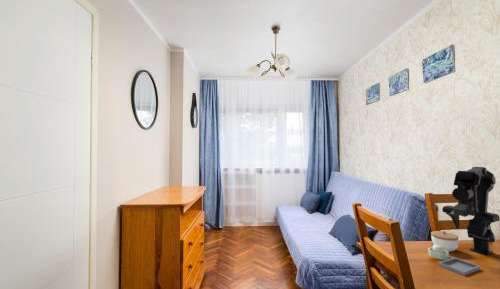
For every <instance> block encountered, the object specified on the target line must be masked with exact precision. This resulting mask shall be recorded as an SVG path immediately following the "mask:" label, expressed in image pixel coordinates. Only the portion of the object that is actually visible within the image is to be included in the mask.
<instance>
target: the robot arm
mask: <svg viewBox="0 0 500 289" xmlns="http://www.w3.org/2000/svg"><path fill="white" fill-rule="evenodd" d="M496 182H497V181H496V177H495V175H494V173H492V172H491V171H489V170H488V169H487V168H486V167H485V166H473V167H471V168H469V169H468V170H457V172H456V173H455V177H454V181H453V186H457V187H456V188H453V190H452V192H451V194H452V197H453V198H454V199H455V200H457V201H458V203H456V204H455V205H454V206H453V205H445V206H443V207H442V209H441V210H442V213H445V215H447V216H448V217H450V218H451V219H452V220H451V221H452V222H453V224H454V226H455V229H457V230H459V229H460V216H461V217H463V218H466V217H468V216H470V217H473V218H471V219H469V220H468V225H467V228H466V232H467V237H468V238H469V239H470V238H471V239H472V242H473V243H472V245H473V247H471V248H469V250H470V251H473V252H477V253H480V254H483V255H491V254H494V251H493V250H490V243H496V239H495V238H496V237H495V234H494V232H493V230H492V229H491V228H492V227H491V225H492V224H493V223H496V222H500V215H499V214H498V213H495V212H488V207H489V206H488V204H489V193H490V192H492V191H493V189H494V186H495V185H496Z"/></svg>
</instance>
